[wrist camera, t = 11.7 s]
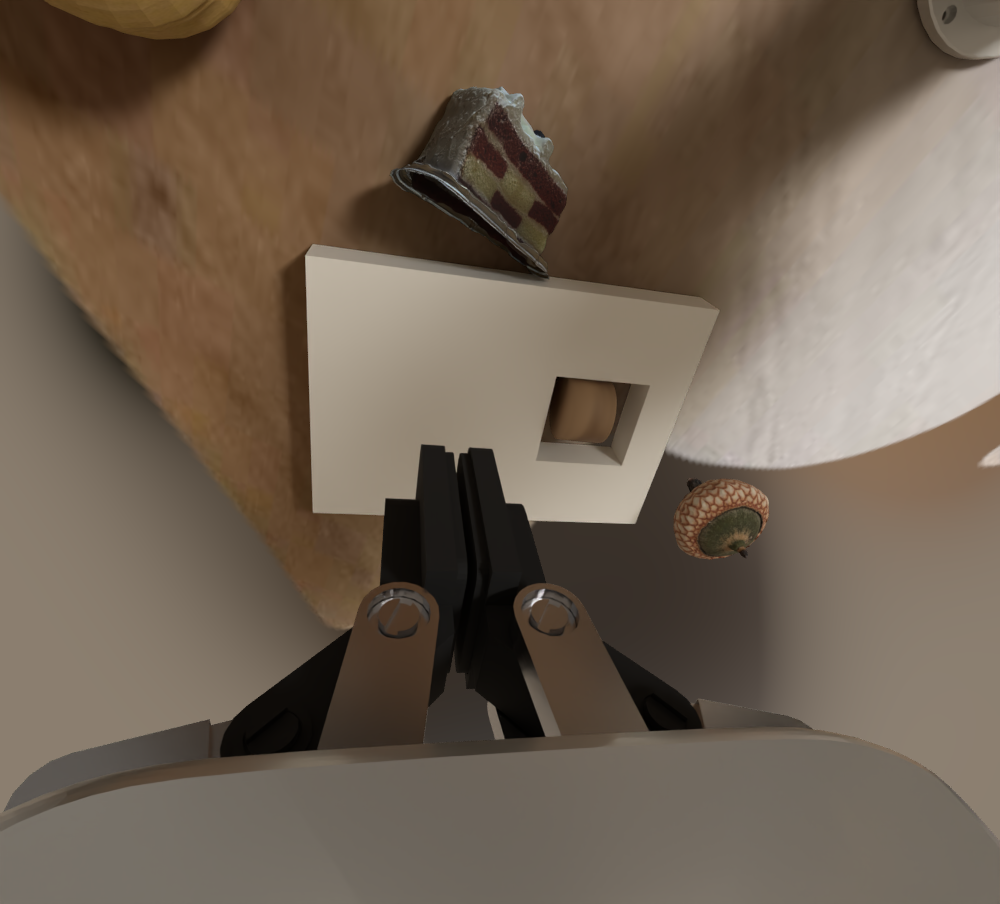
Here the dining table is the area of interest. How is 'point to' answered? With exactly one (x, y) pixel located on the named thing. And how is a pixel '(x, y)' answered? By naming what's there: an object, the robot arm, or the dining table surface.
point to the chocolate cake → (491, 173)
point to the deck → (487, 379)
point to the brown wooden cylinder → (582, 409)
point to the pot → (151, 15)
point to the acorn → (719, 518)
